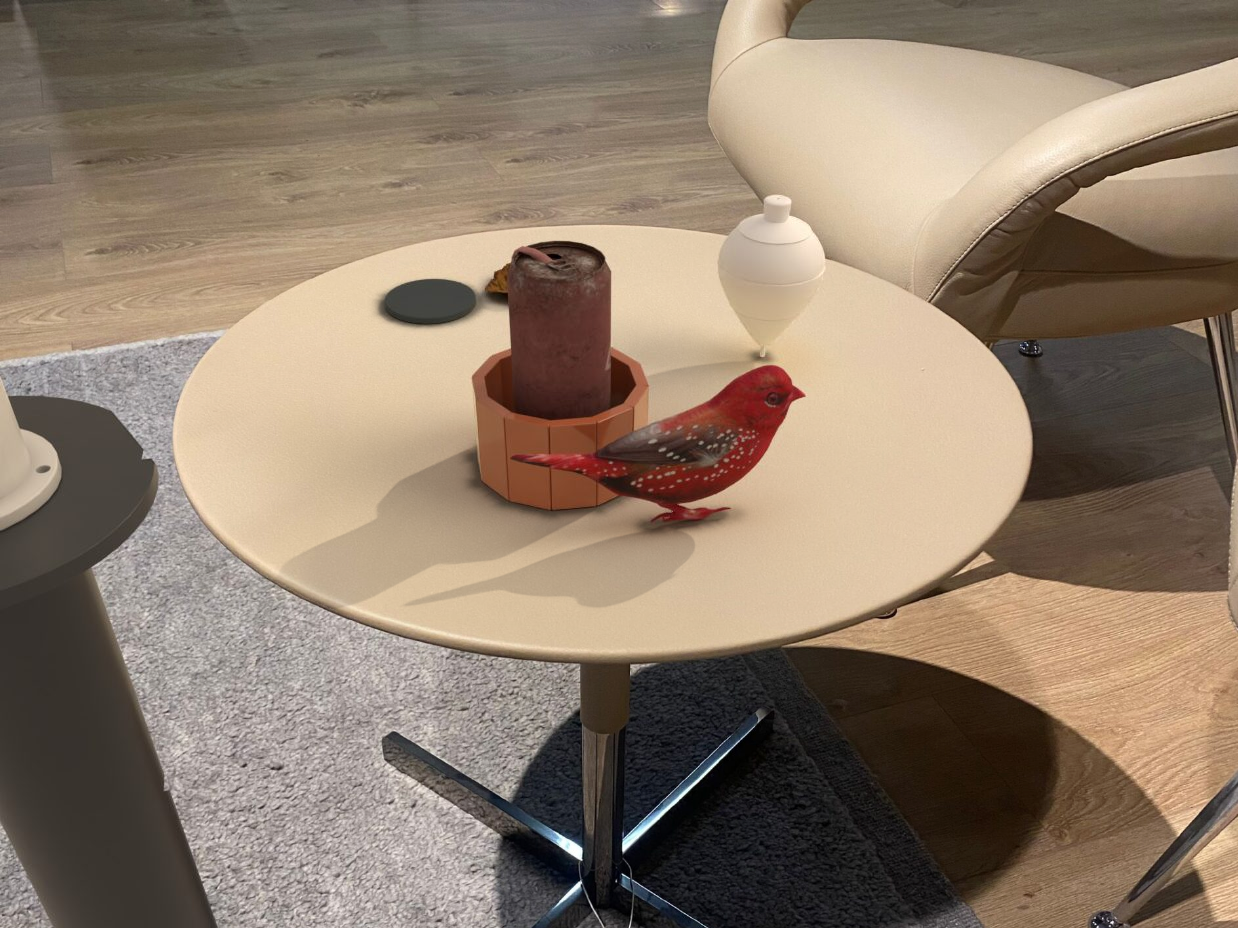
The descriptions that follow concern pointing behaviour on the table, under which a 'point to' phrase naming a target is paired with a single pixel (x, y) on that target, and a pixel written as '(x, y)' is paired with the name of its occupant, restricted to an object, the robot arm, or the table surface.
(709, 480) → the decorative bird figurine
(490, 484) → the pot
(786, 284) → the spinning top
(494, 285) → the leaf
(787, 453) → the table surface
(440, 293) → the coaster
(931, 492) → the table surface
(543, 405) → the can
